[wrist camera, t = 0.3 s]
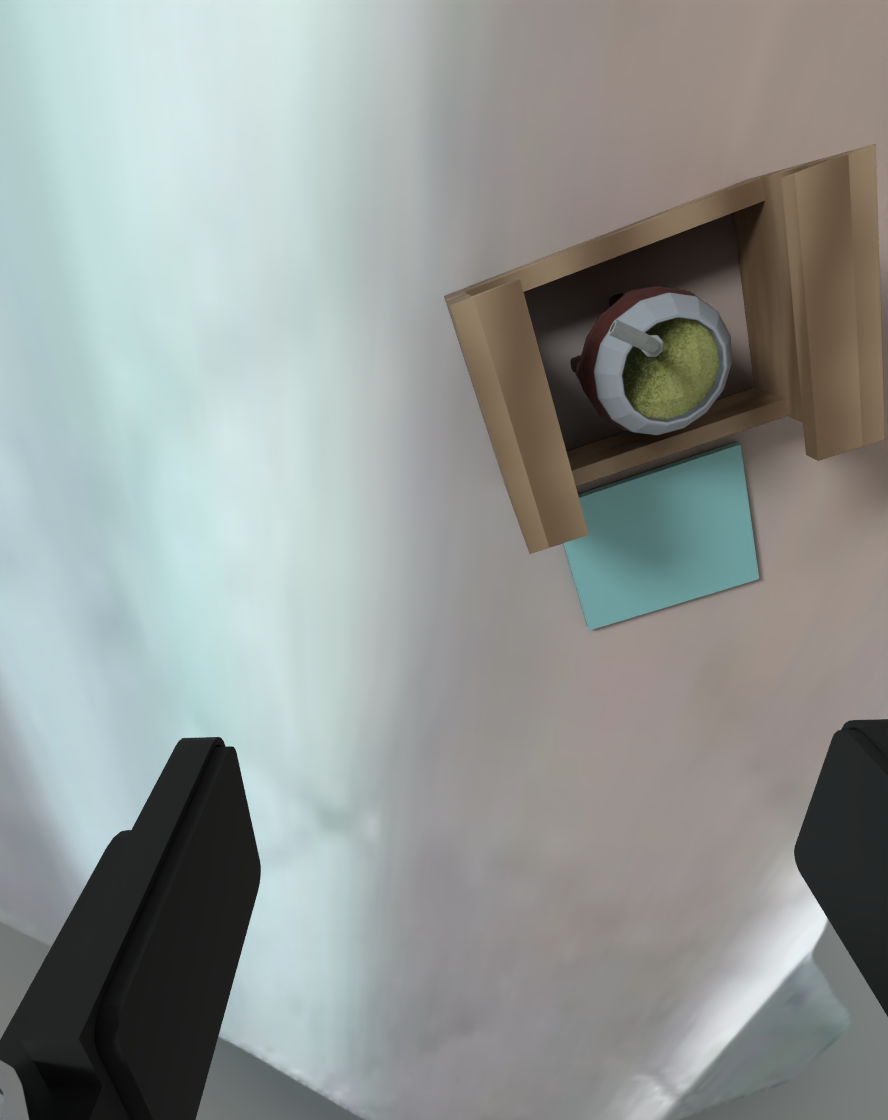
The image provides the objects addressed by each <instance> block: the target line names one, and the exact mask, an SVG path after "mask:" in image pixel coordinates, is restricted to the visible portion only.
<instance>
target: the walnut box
mask: <svg viewBox="0 0 888 1120" xmlns="http://www.w3.org/2000/svg"><path fill="white" fill-rule="evenodd" d="M731 213H733V216H734V224H735V232H736V240H737V248H738V256H739V265H740V273H741V281H742V289H743V297H744V305H745V314H746V322H747V330H748V338H749V346H750V354H751V363H752V371H753V379H754V388H751V389H748V390H746V391H743V392H740V393H737V394H734V395H731V396H728V397H725V398H722V399H719V400H716V401H715V402H714V403H713V404H712V406H711V407H710V408H709V410H708V411H707V412H706V413H705V414H703V415H702V416H701V417H699V418H698V419H696V420H695V421H693V422H692V423H690V424H689V425H688V426H686V427H685V428H682V429H679V430H675V431H671V432H667V433H664V434H660V435H652V434H644V433H636V432H631V431H626V432H623V433H620V434H617V435H614V436H611V437H608V438H605V439H602V440H599V441H596V442H593V443H591V444H588V445H585V446H582V447H579V448H576V449H573V450H570V451H567V452H566V448H565V445H564V441H563V437H562V433H561V430H560V426H559V422H558V419H557V415H556V411H555V407H554V404H553V400H552V396H551V392H550V389H549V385H548V381H547V378H546V374H545V370H544V366H543V363H542V359H541V355H540V352H539V348H538V344H537V340H536V337H535V333H534V329H533V325H532V322H531V318H530V314H529V311H528V307H527V303H526V299H525V296H524V292H525V291H527V290H530V289H533V288H535V287H538V286H541V285H543V284H546V283H548V282H551V281H554V280H556V279H559V278H562V277H564V276H567V275H570V274H572V273H575V272H578V271H580V270H583V269H585V268H588V267H591V266H593V265H596V264H599V263H601V262H604V261H607V260H609V259H612V258H614V257H617V256H620V255H622V254H625V253H628V252H630V251H633V250H636V249H638V248H641V247H644V246H646V245H649V244H651V243H654V242H657V241H659V240H662V239H665V238H667V237H670V236H673V235H675V234H678V233H681V232H683V231H686V230H688V229H691V228H694V227H696V226H699V225H702V224H704V223H707V222H710V221H712V220H715V219H717V218H720V217H723V216H725V215H728V214H731ZM444 297H445V300H446V303H447V306H448V310H449V313H450V316H451V319H452V322H453V325H454V328H455V331H456V334H457V337H458V341H459V344H460V347H461V350H462V353H463V356H464V359H465V362H466V365H467V368H468V372H469V375H470V378H471V381H472V384H473V387H474V390H475V393H476V396H477V400H478V403H479V406H480V409H481V412H482V415H483V418H484V421H485V424H486V427H487V431H488V434H489V437H490V440H491V443H492V446H493V449H494V452H495V455H496V458H497V462H498V465H499V468H500V471H501V474H502V477H503V480H504V483H505V486H506V489H507V492H508V495H509V498H510V500H511V503H512V506H513V509H514V512H515V514H516V517H517V520H518V523H519V525H520V528H521V531H522V534H523V537H524V539H525V542H526V545H527V548H528V551H529V553H530V554H531V553H535V552H538V551H541V550H544V549H547V548H550V547H553V546H556V545H559V544H562V543H565V542H569V541H572V540H575V539H578V538H581V537H584V536H587V535H589V534H588V530H587V526H586V523H585V519H584V515H583V512H582V508H581V504H580V500H579V497H578V493H577V489H576V486H578V485H581V484H584V483H587V482H590V481H593V480H596V479H599V478H602V477H605V476H608V475H611V474H614V473H617V472H620V471H623V470H626V469H629V468H632V467H635V466H638V465H641V464H644V463H647V462H650V461H653V460H656V459H659V458H662V457H665V456H668V455H671V454H674V453H677V452H680V451H683V450H686V449H689V448H692V447H695V446H698V445H701V444H704V443H707V442H710V441H713V440H716V439H719V438H722V437H725V436H728V435H731V434H734V433H737V432H740V431H743V430H746V429H749V428H752V427H755V426H758V425H761V424H764V423H767V422H770V421H773V420H776V419H779V418H782V417H785V416H789V417H791V418H794V419H796V420H799V421H801V422H803V424H804V436H805V447H806V455H808V456H810V457H812V458H814V459H816V460H818V461H819V460H822V459H825V458H829V457H832V456H835V455H838V454H841V453H844V452H847V451H850V450H853V449H856V448H860V447H863V446H866V445H869V444H872V443H875V442H878V441H881V440H884V439H885V430H884V398H883V365H882V333H881V301H880V268H879V236H878V204H877V171H876V144H873V145H870V146H866V147H863V148H859V149H855V150H852V151H848V152H845V153H841V154H837V155H834V156H830V157H827V158H823V159H819V160H816V161H812V162H809V163H805V164H801V165H798V166H794V167H791V168H787V169H783V170H780V171H776V172H773V173H769V174H765V175H762V176H758V177H755V178H751V179H748V180H745V181H743V182H740V183H737V184H735V185H732V186H730V187H727V188H724V189H722V190H719V191H717V192H714V193H711V194H709V195H706V196H704V197H701V198H698V199H696V200H693V201H691V202H688V203H685V204H683V205H680V206H678V207H675V208H672V209H670V210H667V211H665V212H662V213H659V214H657V215H654V216H652V217H649V218H646V219H644V220H641V221H639V222H636V223H633V224H631V225H628V226H626V227H623V228H620V229H618V230H615V231H613V232H610V233H607V234H605V235H602V236H599V237H597V238H594V239H592V240H589V241H586V242H584V243H581V244H579V245H576V246H573V247H571V248H568V249H566V250H563V251H560V252H558V253H555V254H553V255H550V256H547V257H545V258H542V259H540V260H537V261H534V262H532V263H529V264H527V265H524V266H521V267H519V268H516V269H514V270H511V271H508V272H506V273H503V274H501V275H498V276H495V277H493V278H490V279H488V280H485V281H482V282H480V283H477V284H475V285H472V286H469V287H467V288H464V289H462V290H459V291H456V292H454V293H451V294H449V295H446V296H444Z"/></svg>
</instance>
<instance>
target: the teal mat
mask: <svg viewBox="0 0 888 1120" xmlns="http://www.w3.org/2000/svg"><path fill="white" fill-rule="evenodd" d="M578 497H579V500H580V504H581V508H582V512H583V515H584V519H585V523H586V526H587V530H588V534H589V535H587V536H584V537H581V538H578V539H575V540H572V541H569V542H565V543H563V544H564V548H565V551H566V554H567V558H568V561H569V565H570V568H571V572H572V575H573V578H574V582H575V585H576V589H577V592H578V596H579V599H580V603H581V606H582V609H583V613H584V616H585V620H586V623H587V626H588V629H589V631H590V630H593V629H596V628H599V627H603V626H606V625H609V624H613V623H616V622H619V621H623V620H626V619H629V618H632V617H636V616H639V615H642V614H646V613H649V612H652V611H656V610H659V609H662V608H665V607H669V606H672V605H675V604H679V603H682V602H685V601H689V600H692V599H695V598H698V597H702V596H705V595H708V594H712V593H715V592H718V591H722V590H725V589H728V588H731V587H735V586H738V585H741V584H745V583H748V582H751V581H754V580H758V579H759V574H758V567H757V560H756V552H755V545H754V538H753V531H752V523H751V516H750V509H749V502H748V494H747V487H746V480H745V473H744V465H743V458H742V451H741V444H739V443H737V442H734V443H731V444H728V445H725V446H722V447H719V448H716V449H713V450H710V451H707V452H704V453H701V454H698V455H695V456H692V457H689V458H686V459H683V460H680V461H677V462H674V463H671V464H668V465H665V466H662V467H659V468H656V469H653V470H650V471H647V472H644V473H641V474H638V475H635V476H632V477H629V478H626V479H623V480H620V481H617V482H614V483H611V484H608V485H605V486H602V487H599V488H596V489H593V490H590V491H587V492H584V493H581V494H578Z"/></svg>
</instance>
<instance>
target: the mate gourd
mask: <svg viewBox="0 0 888 1120" xmlns="http://www.w3.org/2000/svg"><path fill="white" fill-rule="evenodd" d="M609 302H610V308H609V309H607V310H606V311H605V312H604V313H602V314H601V315H600V317H599V318H598V320H597V322H596V323H595V325H594V326H593V328H592V330H591V331H590V333H589V334H588V336H587V337H586V341H585V344H584V348H583V351H582V355H580V356H577V357H574V358H571V367H572V370H573V372H576V375H577V377H578V379H579V380H580V383H581V385H582V388H583V390H584V392H585V393H586V395H587V396H588V398H589V400H590V401H591V403H592V404H593V406H594V407H595V409H596V410H597V412H598V413H599V415H600V416H601V417H603V418H604V419H606V420H608V421H609V422H611V423H613V424H614V425H616V426H618V427H619V428H621V429H623V430H625V431H631V432H636V433H644V434H652V435H660V434H664V433H667V432H671V431H675V430H679V429H682V428H685V427H686V426H688V425H689V424H690V423H692V422H693V421H695V420H696V419H698V418H699V417H701V416H702V415H703V414H705V413H706V412H707V411H708V410H709V408H710V407H711V406H712V404H713V403H714V402H715V400H716V399H717V398H718V396H719V395H720V394H721V392H722V391H723V390H724V387H725V383H726V380H727V377H728V374H729V371H730V368H731V365H732V354H731V337H730V334H729V332H728V330H727V328H726V326H725V324H724V322H723V321H722V319H721V317H720V315H719V313H718V311H716V310H715V309H714V308H713V307H711V306H710V305H708V304H707V303H705V302H704V301H703V300H701V299H700V298H698V297H697V296H695V295H694V294H693V293H691V292H689V291H686V290H680V289H674V288H667V287H660V286H655V287H648V288H642V289H636V290H631V291H627V292H626V293H625V294H623V293H620V294H617V295H614V296H612V297H611V298H609Z"/></svg>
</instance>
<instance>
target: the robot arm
mask: <svg viewBox="0 0 888 1120" xmlns="http://www.w3.org/2000/svg"><path fill="white" fill-rule="evenodd" d="M794 855H795V861H796V864H797V867H798V870H799V872H800V873H801V875H802V877H803V878H804V880H805V882H806V883H807V885H808V887H809V888H810V890H811V892H812V893H813V895H814V896H815V898H816V900H817V901H818V903H819V905H820V906H821V908H822V910H823V911H824V913H825V915H826V916H827V918H828V919H829V921H830V923H831V924H832V926H833V928H834V929H835V931H836V933H837V934H838V936H839V937H840V939H841V941H842V942H843V944H844V946H845V947H846V949H847V950H848V952H849V954H850V955H851V957H852V959H853V960H854V962H855V963H856V965H857V967H858V968H859V970H860V972H861V973H862V975H863V977H864V978H865V980H866V982H867V983H868V985H869V986H870V988H871V990H872V991H873V993H874V995H875V996H876V998H877V999H878V1001H879V1003H880V1005H881V1006H882V1008H883V1009H884V1011H885V1013H886V1014H887V1016H888V719H881V720H852V721H848V722H847V723H845V724H844V726H843V727H842V729H841V730H838V731H837V732H836V733H835V734H834V736H833V738H832V741H831V744H830V746H829V749H828V752H827V755H826V758H825V761H824V764H823V767H822V770H821V772H820V775H819V778H818V781H817V784H816V787H815V790H814V793H813V796H812V798H811V801H810V804H809V807H808V810H807V813H806V816H805V819H804V822H803V824H802V827H801V830H800V833H799V836H798V839H797V842H796V845H795V849H794ZM260 874H261V865H260V859H259V855H258V850H257V845H256V841H255V836H254V832H253V827H252V822H251V818H250V813H249V808H248V804H247V799H246V795H245V790H244V785H243V781H242V776H241V771H240V767H239V762H238V758H237V753H236V750H235V748H234V747H225V744H224V741H223V740H222V738H220V737H206V738H183V739H181V740H180V741H179V742H178V743H177V745H176V746H175V748H174V750H173V752H172V754H171V756H170V758H169V760H168V762H167V764H166V765H165V767H164V769H163V771H162V773H161V775H160V777H159V779H158V781H157V783H156V784H155V786H154V788H153V790H152V792H151V794H150V796H149V798H148V800H147V802H146V803H145V805H144V807H143V809H142V811H141V813H140V815H139V817H138V819H137V821H136V822H135V824H134V826H133V828H132V830H126V831H121V832H120V833H119V834H117V835H116V836H115V837H114V838H113V839H112V841H111V842H110V844H109V845H108V846H107V848H106V850H105V851H104V853H103V855H102V857H101V859H100V860H99V862H98V864H97V866H96V868H95V870H94V871H93V873H92V875H91V877H90V879H89V880H88V882H87V884H86V886H85V888H84V889H83V891H82V893H81V895H80V897H79V898H78V900H77V902H76V904H75V906H74V908H73V909H72V911H71V913H70V915H69V917H68V918H67V920H66V922H65V924H64V926H63V927H62V929H61V931H60V933H59V935H58V936H57V938H56V940H55V942H54V944H53V945H52V947H51V949H50V951H49V953H48V955H47V956H46V958H45V960H44V962H43V964H42V966H41V967H40V969H39V971H38V973H37V975H36V976H35V978H34V980H33V982H32V983H31V985H30V987H29V989H28V991H27V993H26V994H25V996H24V998H23V1000H22V1002H21V1004H20V1006H19V1007H18V1009H17V1011H16V1013H15V1014H14V1016H13V1018H12V1020H11V1021H10V1023H9V1025H8V1027H7V1029H6V1031H5V1032H4V1034H3V1036H2V1038H1V1040H0V1120H195V1119H196V1116H197V1112H198V1108H199V1105H200V1101H201V1097H202V1094H203V1090H204V1086H205V1083H206V1079H207V1075H208V1072H209V1068H210V1064H211V1060H212V1057H213V1053H214V1050H215V1046H216V1042H217V1039H218V1035H219V1032H220V1028H221V1024H222V1021H223V1017H224V1013H225V1010H226V1006H227V1002H228V999H229V995H230V991H231V988H232V984H233V980H234V977H235V973H236V969H237V966H238V962H239V958H240V955H241V951H242V947H243V944H244V940H245V936H246V933H247V929H248V925H249V922H250V918H251V914H252V911H253V907H254V903H255V900H256V896H257V892H258V888H259V884H260Z"/></svg>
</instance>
